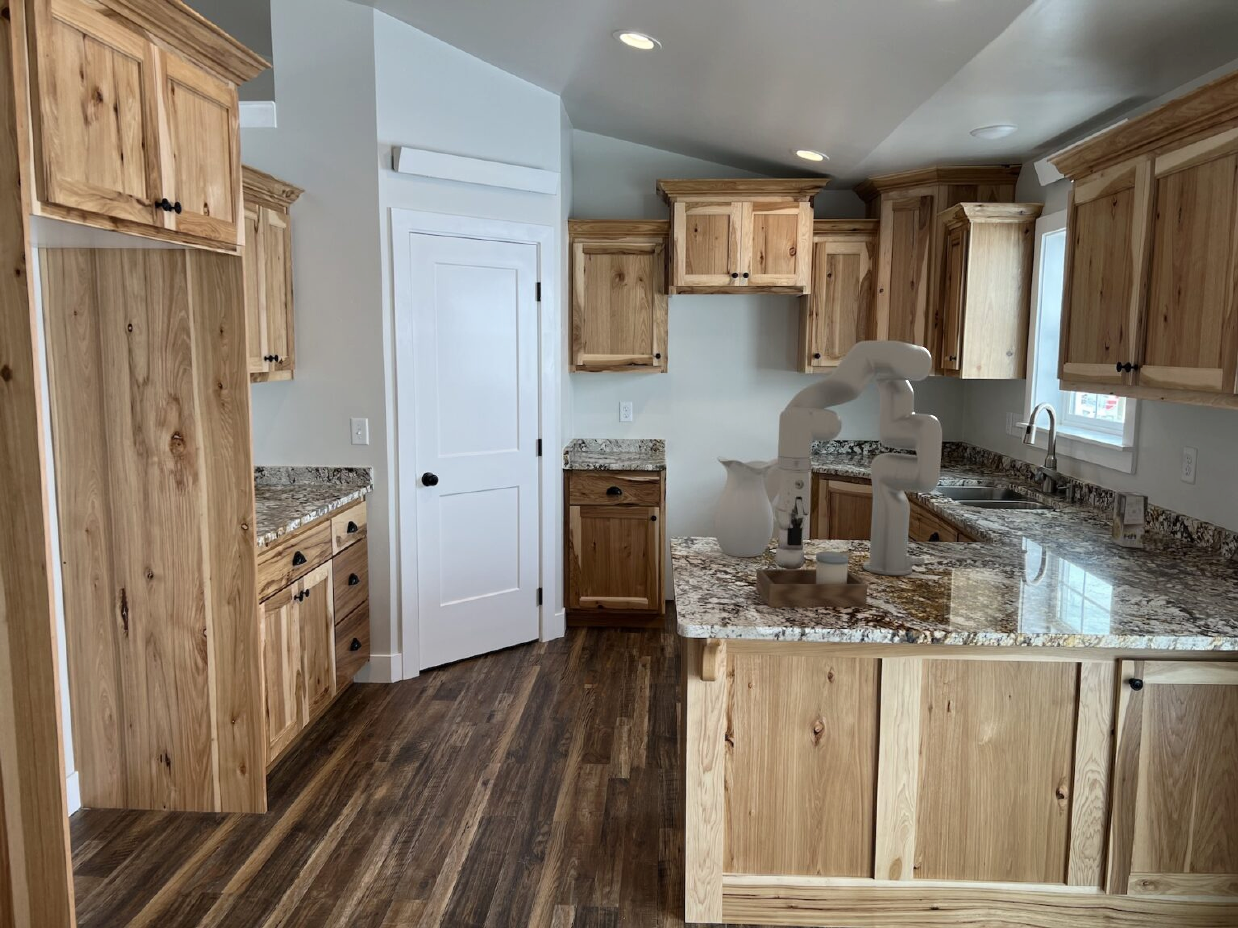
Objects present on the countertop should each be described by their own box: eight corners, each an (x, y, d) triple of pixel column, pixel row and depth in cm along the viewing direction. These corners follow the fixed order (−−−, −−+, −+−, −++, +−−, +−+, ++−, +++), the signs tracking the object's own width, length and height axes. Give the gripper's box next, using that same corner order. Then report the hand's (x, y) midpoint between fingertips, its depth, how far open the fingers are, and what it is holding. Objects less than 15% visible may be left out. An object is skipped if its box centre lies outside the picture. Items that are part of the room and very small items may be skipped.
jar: (840, 593, 201) (842, 551, 199) (851, 602, 193) (853, 558, 192) (810, 593, 200) (812, 551, 199) (819, 602, 193) (821, 558, 191)
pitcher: (726, 561, 234) (729, 461, 230) (704, 547, 250) (707, 454, 246) (804, 557, 240) (809, 460, 236) (778, 544, 256) (781, 453, 252)
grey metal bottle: (783, 563, 200) (786, 480, 197) (809, 568, 195) (813, 483, 193) (769, 568, 195) (772, 483, 192) (796, 573, 190) (799, 486, 188)
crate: (845, 593, 204) (846, 569, 203) (866, 610, 190) (867, 585, 189) (755, 593, 203) (756, 569, 202) (770, 611, 189) (771, 585, 188)
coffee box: (1144, 548, 259) (1149, 496, 257) (1121, 546, 260) (1126, 495, 258) (1132, 541, 268) (1137, 491, 266) (1110, 540, 269) (1115, 490, 267)
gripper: (821, 469, 184) (817, 550, 186) (799, 459, 201) (796, 534, 203) (787, 469, 183) (784, 550, 185) (768, 459, 200) (765, 534, 202)
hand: (790, 541), depth 194 cm, fingers closed on grey metal bottle, 5 cm apart
